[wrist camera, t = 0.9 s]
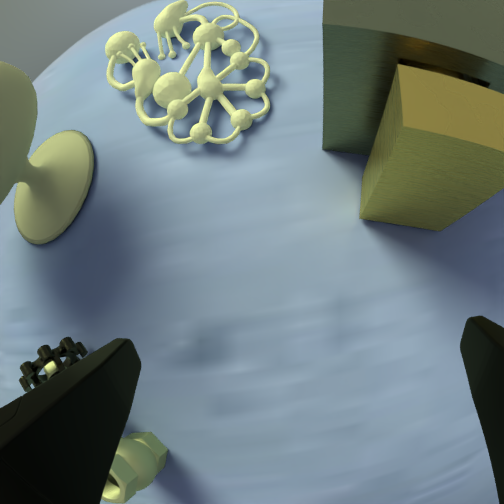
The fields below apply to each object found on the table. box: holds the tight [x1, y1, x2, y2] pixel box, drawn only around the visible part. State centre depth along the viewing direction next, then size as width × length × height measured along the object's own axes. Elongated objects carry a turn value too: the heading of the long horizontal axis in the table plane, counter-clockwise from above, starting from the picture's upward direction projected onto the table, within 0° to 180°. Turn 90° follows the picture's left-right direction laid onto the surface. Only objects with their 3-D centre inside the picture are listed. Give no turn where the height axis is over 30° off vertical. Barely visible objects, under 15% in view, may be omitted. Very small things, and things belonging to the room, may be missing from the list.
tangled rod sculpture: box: [105, 0, 270, 144], centre depth 24 cm, size 19×14×4 cm
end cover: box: [359, 58, 504, 231], centre depth 15 cm, size 11×6×12 cm, turn 170°
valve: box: [19, 337, 168, 503], centre depth 18 cm, size 7×7×12 cm
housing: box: [322, 0, 504, 156], centre depth 16 cm, size 10×12×12 cm
